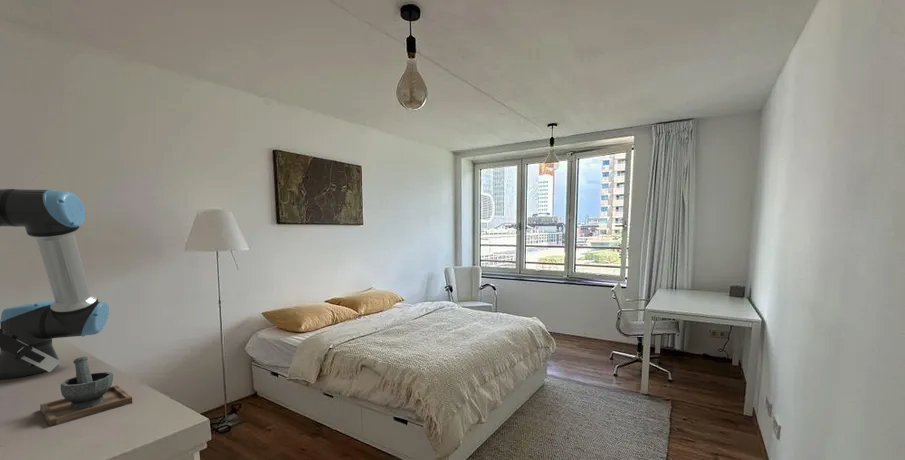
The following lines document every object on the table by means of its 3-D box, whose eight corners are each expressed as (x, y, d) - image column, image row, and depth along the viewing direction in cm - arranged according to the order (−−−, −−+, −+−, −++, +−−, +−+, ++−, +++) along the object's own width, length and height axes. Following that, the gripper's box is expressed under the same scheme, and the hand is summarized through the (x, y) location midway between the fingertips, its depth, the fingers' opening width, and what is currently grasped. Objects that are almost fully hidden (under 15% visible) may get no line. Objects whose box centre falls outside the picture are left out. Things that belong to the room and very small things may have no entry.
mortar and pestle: (118, 401, 98) (118, 356, 98) (69, 416, 89) (70, 367, 90) (100, 393, 103) (101, 351, 103) (53, 406, 95) (54, 361, 95)
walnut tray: (40, 410, 94) (40, 404, 94) (116, 390, 106) (116, 385, 106) (50, 426, 86) (50, 420, 86) (132, 402, 98) (132, 397, 98)
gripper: (-86, 321, 81) (16, 367, 93) (-69, 335, 68) (46, 386, 81) (-45, 294, 86) (47, 342, 98) (-23, 302, 73) (79, 355, 86)
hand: (46, 362), depth 90 cm, fingers open, 13 cm apart
